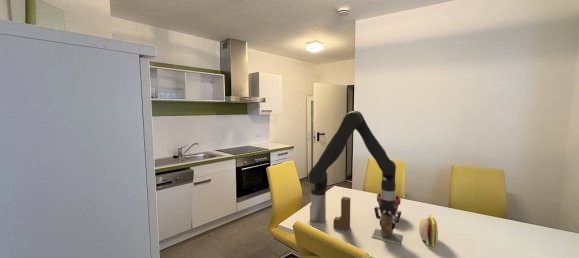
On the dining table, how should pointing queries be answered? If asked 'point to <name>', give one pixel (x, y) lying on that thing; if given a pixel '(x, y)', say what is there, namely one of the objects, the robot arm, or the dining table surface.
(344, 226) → the wooden block
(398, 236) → the mat
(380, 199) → the plant pot
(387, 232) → the walnut block
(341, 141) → the robot arm
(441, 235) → the dining table surface
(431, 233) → the hamburger
